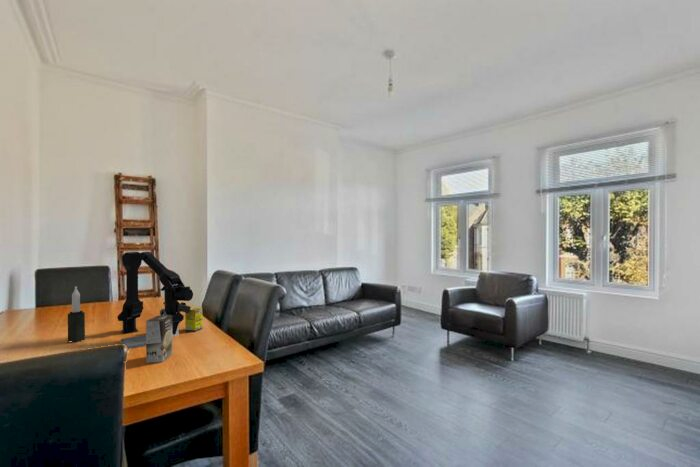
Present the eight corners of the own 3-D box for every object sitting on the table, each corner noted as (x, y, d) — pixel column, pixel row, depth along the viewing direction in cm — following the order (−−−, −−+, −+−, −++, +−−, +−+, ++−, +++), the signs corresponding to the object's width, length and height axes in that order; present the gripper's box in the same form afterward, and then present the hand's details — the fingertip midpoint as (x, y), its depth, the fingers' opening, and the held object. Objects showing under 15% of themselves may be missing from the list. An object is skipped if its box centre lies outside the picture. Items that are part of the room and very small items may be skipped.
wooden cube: (164, 335, 169) (164, 324, 169) (175, 333, 173) (175, 323, 173) (167, 337, 166) (167, 327, 166) (178, 335, 169) (178, 325, 169)
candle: (86, 339, 163) (85, 285, 162) (74, 343, 158) (73, 287, 158) (78, 338, 164) (77, 285, 164) (66, 342, 159) (65, 287, 159)
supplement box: (195, 331, 174) (195, 310, 174) (184, 331, 176) (184, 309, 176) (202, 328, 180) (202, 307, 180) (192, 328, 181) (192, 306, 181)
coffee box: (163, 362, 134) (162, 320, 134) (145, 363, 134) (145, 321, 134) (173, 354, 144) (172, 314, 143) (156, 354, 143) (156, 315, 143)
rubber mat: (120, 341, 160) (120, 338, 160) (155, 335, 169) (155, 332, 169) (126, 349, 149) (126, 346, 149) (162, 342, 158) (162, 339, 158)
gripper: (195, 300, 167) (195, 333, 168) (183, 295, 181) (183, 325, 182) (169, 303, 160) (169, 338, 160) (159, 298, 174) (159, 329, 174)
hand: (171, 332), depth 169 cm, fingers open, 9 cm apart
